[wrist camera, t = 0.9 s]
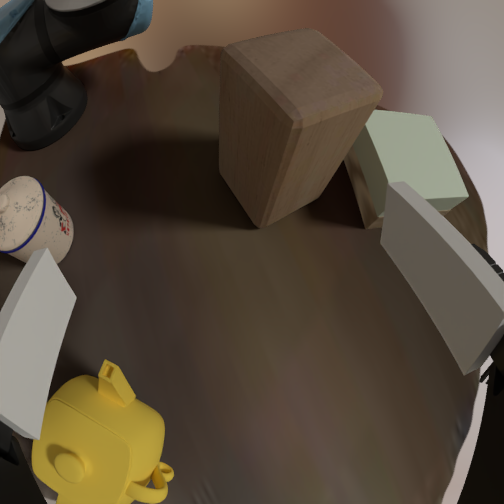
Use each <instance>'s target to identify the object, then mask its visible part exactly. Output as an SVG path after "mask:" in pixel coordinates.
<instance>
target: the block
mask: <svg viewBox="0 0 504 504" xmlns="http://www.w3.org/2000/svg"><path fill="white" fill-rule="evenodd" d="M382 95H383V90H382V88H381V86H380V85H379V84H378V83H377V82H376V81H375V80H374V79H373V78H372V77H371V76H370V75H369V74H368V73H367V72H365V70H364V69H362V68H361V67H360V66H359V65H358V64H357V63H356V62H355V61H354V60H352V59H351V58H350V57H349V56H348V55H347V54H346V53H344V52H343V51H342V50H341V49H339V48H338V47H337V46H336V45H335V44H334V43H332V42H331V41H330V40H329V39H327V38H326V37H325V36H323V35H322V34H321V33H320V32H318V31H316V30H313V29H309V28H305V29H298V30H293V31H286V32H281V33H276V34H271V35H266V36H261V37H257V38H252V39H249V40H244V41H240V42H236V43H233V44H229V45H227V46H226V47H224V48H223V50H222V52H221V64H220V104H219V172H220V174H221V176H222V177H223V179H224V180H225V182H226V183H227V185H228V186H229V188H230V189H231V191H232V192H233V194H234V195H235V197H236V198H237V200H238V201H239V202H240V204H241V205H242V207H243V208H244V210H245V211H246V213H247V214H248V216H249V217H250V219H251V220H252V222H253V223H254V225H256V226H257V227H258V228H263V227H267V226H269V225H271V224H272V223H274V222H276V221H278V220H280V219H281V218H283V217H285V216H287V215H289V214H290V213H292V212H294V211H296V210H298V209H299V208H301V207H303V206H305V205H307V204H308V203H310V202H312V201H314V200H316V199H317V198H319V197H320V195H321V194H322V192H323V191H324V189H325V187H326V186H327V184H328V183H329V181H330V180H331V178H332V176H333V175H334V173H335V172H336V170H337V169H338V167H339V165H340V164H341V162H342V161H343V159H344V158H345V156H346V154H347V153H348V151H349V150H350V148H351V146H352V145H353V143H354V142H355V140H356V138H357V137H358V135H359V134H360V132H361V130H362V129H363V127H364V126H365V124H366V122H367V121H368V119H369V117H370V116H371V114H372V113H373V111H374V109H375V108H376V106H377V104H378V103H379V101H380V99H381V98H382Z"/></svg>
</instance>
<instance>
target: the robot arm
mask: <svg viewBox="0 0 504 504" xmlns="http://www.w3.org/2000/svg"><path fill="white" fill-rule="evenodd" d="M152 11H153V0H11V1H9V2H8V3H6V4H5V5H4V6H2V7H1V8H0V105H1V107H2V108H3V109H4V113H5V117H6V121H7V125H8V128H9V132H10V135H11V137H12V139H13V140H14V142H15V143H16V144H17V145H18V146H19V147H20V148H21V149H24V150H37V149H41V148H43V147H46V146H48V145H50V144H52V143H53V142H55V141H57V140H58V139H59V138H61V137H62V136H63V135H65V134H66V133H67V132H68V131H69V130H70V129H71V128H72V127H73V126H74V125H75V124H76V122H77V121H78V120H79V119H80V117H81V115H82V114H83V112H84V110H85V107H86V104H87V93H86V90H85V88H84V86H83V84H82V82H81V81H80V80H79V79H78V78H77V77H76V76H75V75H73V74H72V73H71V72H70V71H69V70H68V69H67V68H66V67H65V66H64V65H63V64H62V61H64V60H66V59H69V58H71V57H74V56H76V55H79V54H82V53H84V52H87V51H90V50H93V49H96V48H99V47H102V46H105V45H108V44H110V43H114V42H118V41H123V40H125V39H126V38H128V37H131V36H134V35H137V34H140V33H142V32H144V31H145V30H146V29H147V28H148V27H149V25H150V22H151V18H152ZM380 244H381V245H382V246H383V248H384V249H385V250H386V252H387V253H388V255H389V256H390V257H391V259H392V260H393V262H394V263H395V264H396V266H397V267H398V269H399V270H400V272H401V273H402V274H403V276H404V277H405V279H406V280H407V282H408V283H409V285H410V286H411V288H412V289H413V291H414V292H415V294H416V295H417V297H418V298H419V300H420V301H421V303H422V305H423V306H424V308H425V309H426V311H427V312H428V314H429V316H430V317H431V319H432V320H433V322H434V324H435V325H436V327H437V329H438V330H439V332H440V334H441V335H442V337H443V339H444V340H445V342H446V344H447V346H448V347H449V349H450V351H451V353H452V354H453V356H454V358H455V360H456V362H457V363H458V365H459V367H460V369H461V371H462V373H463V375H466V374H468V373H470V372H472V371H474V370H476V369H477V368H479V367H481V366H482V365H483V363H484V362H485V361H486V360H487V358H488V357H489V356H491V358H492V359H493V363H492V364H491V365H490V366H489V367H488V369H487V370H486V371H485V372H484V374H483V375H482V376H481V378H480V381H479V382H481V383H482V382H483V381H484V380H485V379H486V377H487V376H488V375H489V379H488V380H487V382H486V384H488V386H487V393H486V399H485V406H484V411H483V416H482V422H481V426H480V430H479V435H478V439H477V443H476V447H475V451H474V455H473V458H472V461H471V465H470V468H469V471H468V474H467V477H466V480H465V484H464V487H463V490H462V492H461V495H460V497H459V500H458V502H457V504H504V273H503V270H502V269H501V268H500V267H499V266H498V265H496V263H495V261H494V260H493V259H492V258H491V257H490V255H489V254H488V253H487V252H486V251H484V250H483V249H481V248H480V247H478V246H476V245H475V244H470V243H469V242H468V241H467V240H466V239H465V238H464V237H463V236H462V235H461V234H460V233H459V232H458V231H457V230H456V229H455V228H454V227H453V226H452V225H451V224H450V223H449V222H448V221H447V220H446V219H445V218H444V217H443V216H442V215H441V214H440V213H439V212H438V211H437V210H436V209H435V208H434V207H433V206H431V205H430V204H429V203H428V202H427V201H426V200H425V199H424V198H423V197H422V196H420V195H419V194H418V193H417V192H416V191H415V190H414V189H413V188H411V187H410V186H409V185H408V184H407V183H406V182H404V181H402V182H393V183H387V193H386V202H385V211H384V219H383V226H382V234H381V241H380ZM76 298H77V297H76V296H75V294H74V292H73V291H72V289H71V288H70V286H69V284H68V283H67V281H66V279H65V278H64V276H63V274H62V273H61V271H60V269H59V268H58V266H57V264H56V262H55V261H54V259H53V257H52V255H51V253H50V251H49V250H48V248H44V249H40V250H36V251H34V252H33V254H32V255H31V257H30V258H29V260H28V262H27V263H26V265H25V267H24V269H23V270H22V272H21V274H20V276H19V277H18V279H17V281H16V283H15V285H14V286H13V288H12V290H11V292H10V294H9V296H8V298H7V300H6V302H5V304H4V306H3V308H2V310H1V312H0V504H47V502H46V500H45V499H44V497H43V495H42V493H41V491H40V489H39V487H38V485H37V483H36V481H35V479H34V477H33V475H32V473H31V471H30V468H29V466H28V464H27V462H26V459H25V457H24V455H23V452H22V450H21V447H20V445H19V442H18V441H17V439H16V438H15V437H14V436H12V432H13V430H14V431H16V432H17V433H19V434H20V435H22V436H23V437H26V438H31V439H36V440H40V433H41V428H42V422H43V417H44V412H45V407H46V402H47V397H48V393H49V389H50V384H51V380H52V376H53V372H54V369H55V365H56V361H57V357H58V354H59V350H60V347H61V344H62V340H63V337H64V334H65V331H66V328H67V324H68V321H69V318H70V315H71V313H72V310H73V307H74V304H75V301H76Z"/></svg>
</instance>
